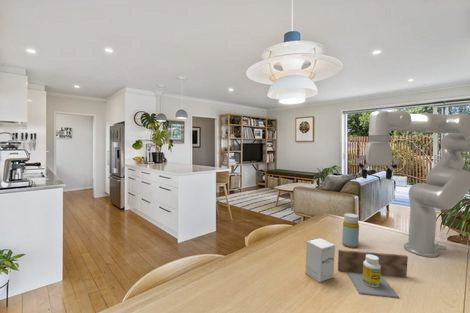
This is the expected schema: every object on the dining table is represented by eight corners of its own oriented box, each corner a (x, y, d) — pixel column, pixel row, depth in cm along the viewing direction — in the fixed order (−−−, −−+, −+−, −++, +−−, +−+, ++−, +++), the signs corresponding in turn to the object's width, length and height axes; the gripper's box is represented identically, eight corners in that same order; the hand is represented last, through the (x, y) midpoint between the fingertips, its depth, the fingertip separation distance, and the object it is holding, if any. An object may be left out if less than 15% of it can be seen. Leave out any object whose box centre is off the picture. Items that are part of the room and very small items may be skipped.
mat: (382, 277, 88) (382, 275, 88) (399, 298, 76) (399, 296, 76) (347, 273, 90) (347, 272, 90) (359, 293, 78) (359, 292, 78)
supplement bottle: (370, 278, 86) (372, 252, 86) (383, 286, 81) (385, 259, 80) (358, 280, 85) (360, 254, 84) (371, 288, 80) (372, 261, 79)
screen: (404, 275, 89) (405, 255, 88) (406, 277, 88) (407, 256, 87) (337, 269, 93) (338, 249, 92) (338, 271, 91) (339, 251, 91)
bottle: (360, 248, 111) (362, 217, 110) (345, 248, 111) (347, 217, 110) (353, 242, 118) (355, 213, 117) (339, 242, 118) (341, 212, 117)
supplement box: (319, 283, 83) (321, 248, 83) (304, 272, 90) (305, 240, 89) (334, 278, 87) (335, 244, 86) (318, 268, 93) (319, 237, 93)
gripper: (395, 140, 105) (393, 178, 106) (354, 139, 108) (352, 176, 109) (404, 140, 98) (402, 180, 99) (360, 139, 100) (358, 179, 101)
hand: (376, 178), depth 104 cm, fingers open, 9 cm apart
